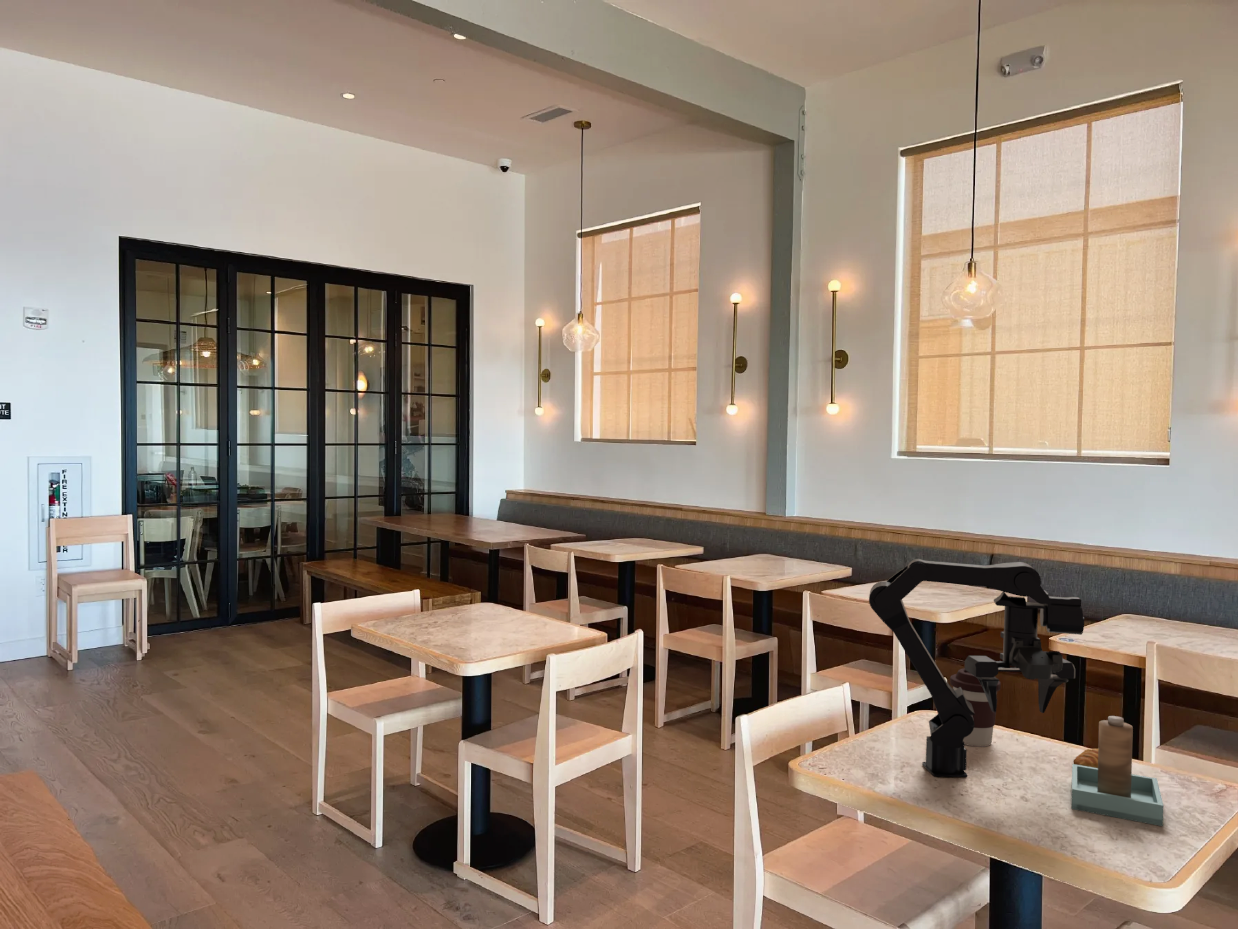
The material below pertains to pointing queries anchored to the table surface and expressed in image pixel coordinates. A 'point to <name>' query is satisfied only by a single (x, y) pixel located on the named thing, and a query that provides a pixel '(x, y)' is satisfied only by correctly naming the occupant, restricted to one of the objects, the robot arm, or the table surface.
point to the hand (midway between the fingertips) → (1017, 712)
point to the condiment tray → (1117, 797)
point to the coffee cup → (976, 708)
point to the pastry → (1087, 758)
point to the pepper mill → (1115, 757)
